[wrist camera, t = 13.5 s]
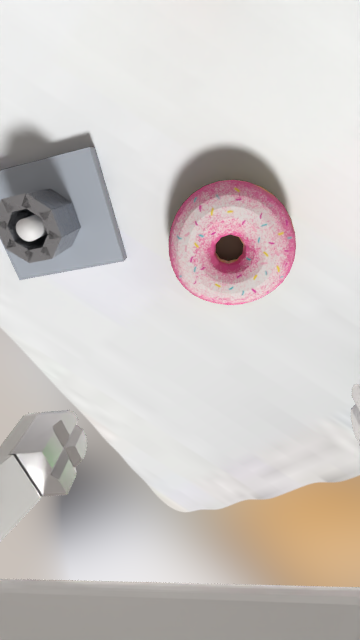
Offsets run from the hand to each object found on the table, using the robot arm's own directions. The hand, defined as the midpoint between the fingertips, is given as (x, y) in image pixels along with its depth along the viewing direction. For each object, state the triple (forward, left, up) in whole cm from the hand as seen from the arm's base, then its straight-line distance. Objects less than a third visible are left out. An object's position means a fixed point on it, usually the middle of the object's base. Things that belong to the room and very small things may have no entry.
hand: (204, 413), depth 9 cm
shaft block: (+18, -4, -29) cm, 34 cm away
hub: (+18, -4, -28) cm, 33 cm away
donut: (-1, +2, -30) cm, 30 cm away
